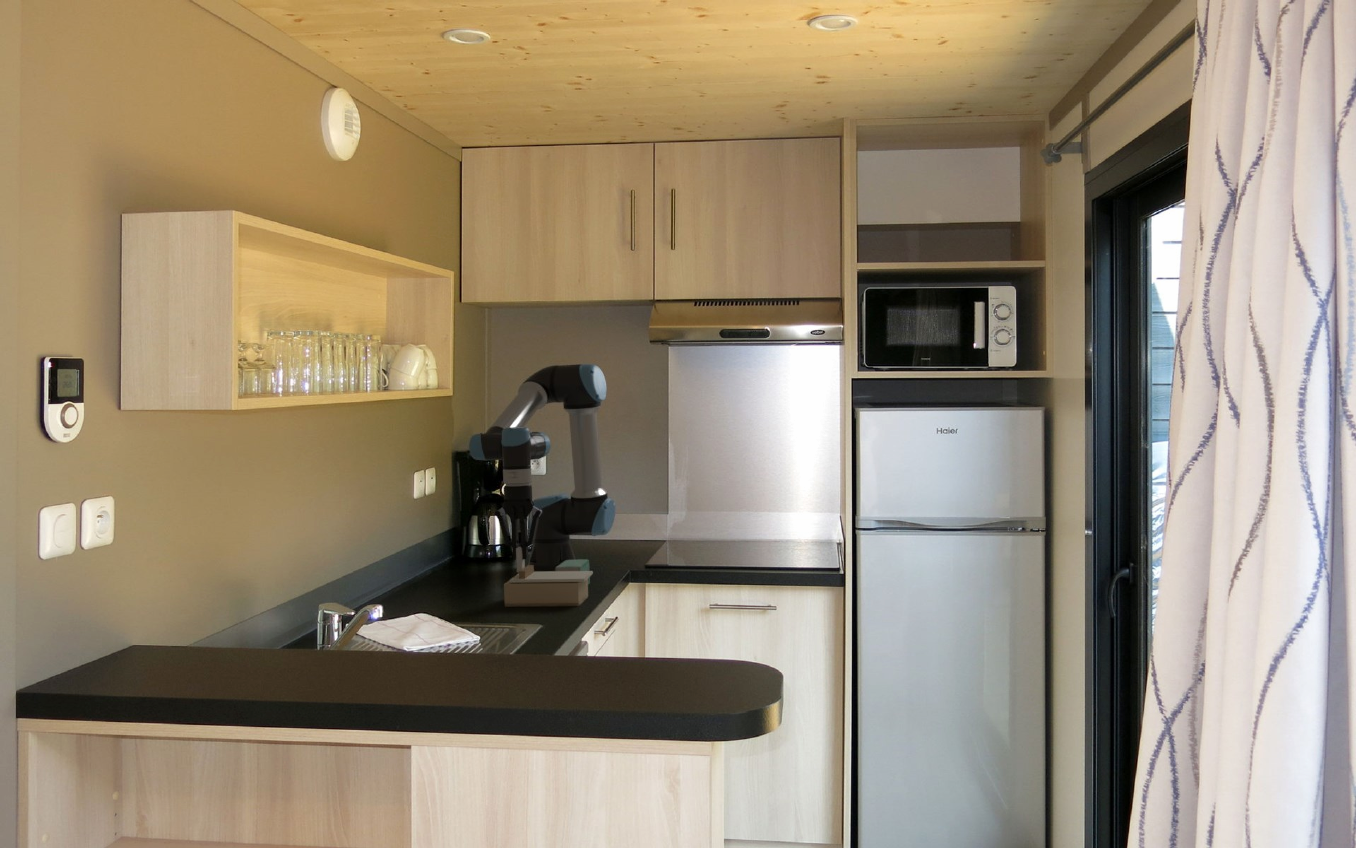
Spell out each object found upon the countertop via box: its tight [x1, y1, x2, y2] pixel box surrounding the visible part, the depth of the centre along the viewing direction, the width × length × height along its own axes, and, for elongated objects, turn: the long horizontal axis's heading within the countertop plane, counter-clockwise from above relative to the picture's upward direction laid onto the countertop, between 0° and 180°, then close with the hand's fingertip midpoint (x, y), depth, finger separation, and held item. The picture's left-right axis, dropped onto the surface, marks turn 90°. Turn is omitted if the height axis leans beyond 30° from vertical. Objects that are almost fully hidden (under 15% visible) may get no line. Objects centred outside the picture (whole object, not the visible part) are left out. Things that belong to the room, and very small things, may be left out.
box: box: [555, 558, 591, 586], centre depth 291 cm, size 7×14×8 cm, turn 174°
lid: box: [509, 564, 594, 583], centre depth 273 cm, size 11×20×3 cm, turn 83°
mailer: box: [503, 579, 589, 608], centre depth 274 cm, size 12×20×6 cm, turn 83°
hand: (520, 571), depth 274 cm, fingers closed
